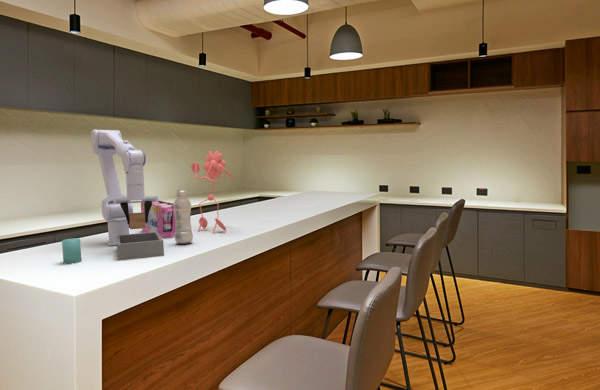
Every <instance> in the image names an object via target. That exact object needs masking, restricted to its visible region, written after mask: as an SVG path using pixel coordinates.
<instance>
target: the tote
mask: <svg viewBox="0 0 600 390" xmlns="http://www.w3.org/2000/svg"><path fill="white" fill-rule="evenodd" d="M116 240H117V245H116V253H117V261H121V260H122V261H123V260H125V261H126V260H131V259H132V260H133V259H140V258H141V259H142V258H149V257H151V258H152V257H158V256H159V257H160V256H165V250H164V248H165V247H164V238H161V236H160V235H159V233H158V232H149V233H145V232H138V233H129V234H126V235H116Z"/></svg>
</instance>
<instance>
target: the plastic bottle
mask: <svg viewBox="0 0 600 390" xmlns="http://www.w3.org/2000/svg"><path fill="white" fill-rule="evenodd" d="M176 196H177V197H176V198H175V199H174V200H173V208H174V213H175V219H176V220H175V221H176V227H175V237H174V241H175V243H176V244H180V245H185V244H190V243H192V242H193V240H194V234H193V231H192V223H191V213H192V212H191V211H192V203H191V201H190V199H189V198H188V191H187V189H185V190H184V189H182V190H176Z"/></svg>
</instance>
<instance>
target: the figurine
mask: <svg viewBox="0 0 600 390" xmlns="http://www.w3.org/2000/svg"><path fill="white" fill-rule="evenodd" d="M222 158H223V153H219V151H218V150H216V151H215V152H214V153H212V151H210V150H209V151H208V153H207V156H206V157H205V162H204V163H203V164H202V166H203V169H204V170H206V172H205V173H206V175H205V176H201V177H198V173H199V172H200V169H201V168H200V164H199V163H198V162H196V161H194V162H193V163H192V164H191V167H190V169H191V170H192V172H193V174H194V175H195V180H200V179H202V180H203V179H205V180H208V181H209V182H211V183H212V188H211V192H210V193H211V194H208V195H207V198H206V199H205V200H203V201H201V202H199V203H198V205H199V209H200V214H201V216H200V218H199V220H198V224H199V227H198V230H197V232H200V231H201V230H200V229H201V227H202V229H204V230H205V229H206V228H208V225H209V223H208V219H206V217H204V215H203V212H202V211H203V210H202V207H201V204H202V203H203V204H204V203H205V202H206V201H214V202H215V203H216V204H217V205H219V203H218V202H217V201H216V199H215V195H213V192H214V188H215V182H214V181H215V180H216V178H217V179H219V180H220V178H221V175H222V174H223V173H226V174H227V175H228V176H229V177H230V178H232V179H233V180H234V179H235V178H234V176H233V175H232V174H231V173H230V172H229V171H228V170H227V169H226V168H224V167H225V166H226V161H225V160H223V159H222ZM208 176H209V177H208ZM216 212H217V218H215V219H214V221H215V224H214V226H213V231H212V234H214V233H215V231H216V228H217V225H218V227H219V228H221V229H222V230H224V231H225V232H226V231H227V228H229V229H231V227H230V226H227V227H226V226H225V225H224V223H223V222H222V221H221V220H220V219H219V207H217V211H216ZM232 229H233V230H234V229H235V228H234V227H232ZM225 232H223V233H222V235H223V234H226V233H225Z"/></svg>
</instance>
